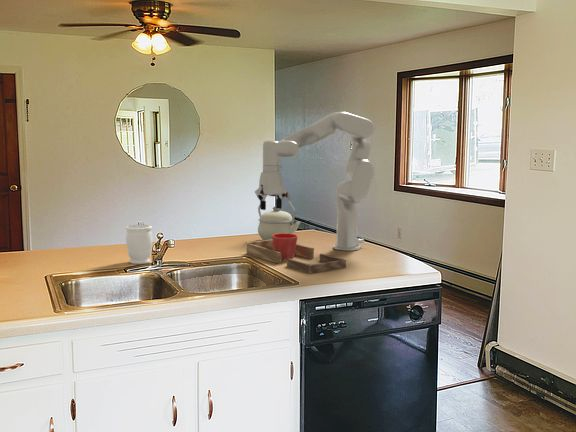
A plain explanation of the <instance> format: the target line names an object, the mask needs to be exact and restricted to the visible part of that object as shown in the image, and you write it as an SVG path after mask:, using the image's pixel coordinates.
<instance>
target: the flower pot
mask: <svg viewBox="0 0 576 432" xmlns="http://www.w3.org/2000/svg"><path fill="white" fill-rule="evenodd" d="M272 240H273V246H274V251H277V252H281V260H287V259H293V258H294V256H295V254H294V253H295V248H296V244H298V243H297V242H298V235H297V234H295V233H294V234H287V233H281V234H274V235H272Z"/></svg>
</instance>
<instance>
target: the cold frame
mask: <svg viewBox="0 0 576 432" xmlns="http://www.w3.org/2000/svg"><path fill="white" fill-rule="evenodd" d="M245 251H246V254H247V255H250V256H253V257H255V258H256V257H257V258H260V259H263V260H266V261H270V262H273V263H276V264H282V259H281V252H277V251H274V246H273V240H272V239H271V240H263V241H262V240H256V241H249V242H246V250H245ZM314 251H315V248H314V247H311V246H307V245H303V244H301V243H299V244H298V243H296V248H295V253H294V255H297V256H300V257H304V258H309V259H315V258H314V256H315V252H314Z"/></svg>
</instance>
